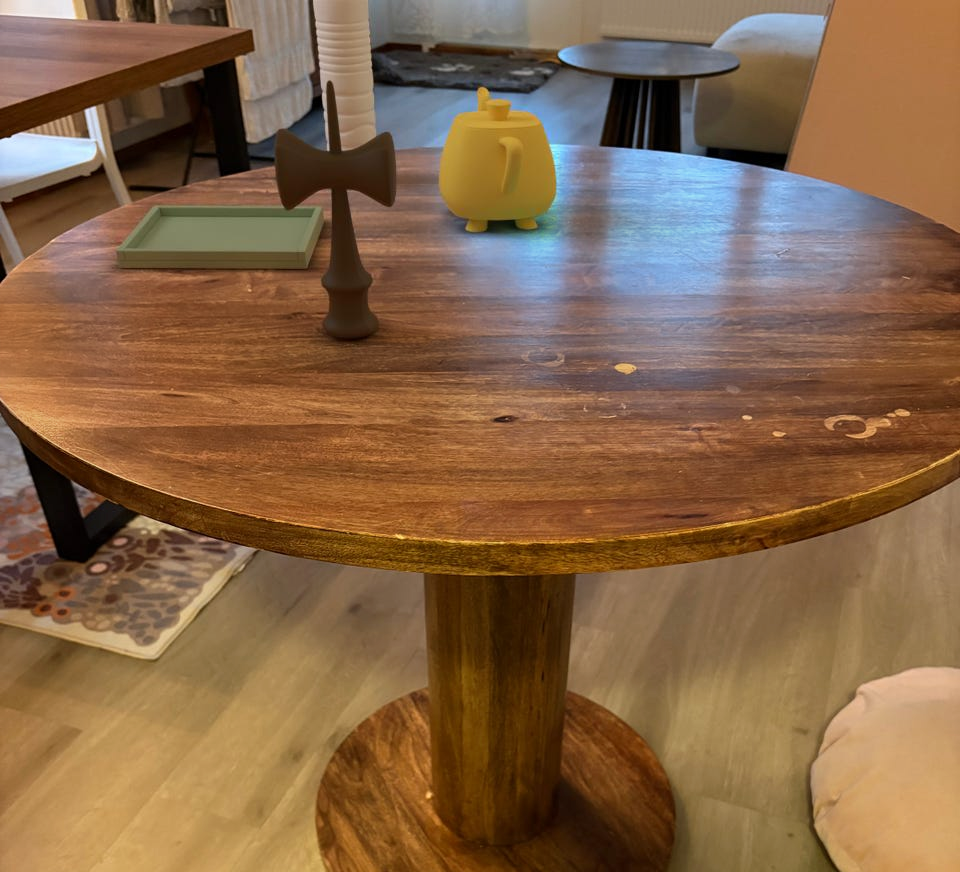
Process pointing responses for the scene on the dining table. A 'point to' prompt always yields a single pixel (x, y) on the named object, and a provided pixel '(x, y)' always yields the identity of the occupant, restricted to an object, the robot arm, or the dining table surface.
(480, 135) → the teapot
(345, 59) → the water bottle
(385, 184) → the kendama
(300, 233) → the serving tray
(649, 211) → the dining table surface
